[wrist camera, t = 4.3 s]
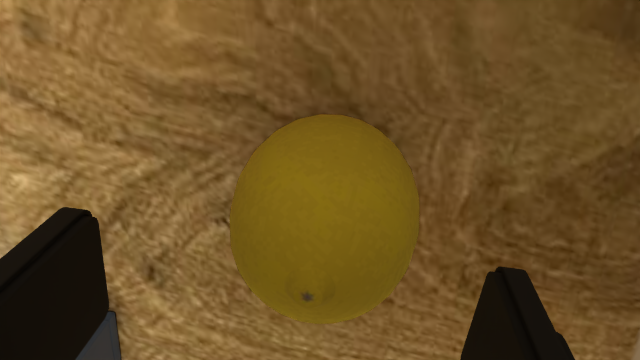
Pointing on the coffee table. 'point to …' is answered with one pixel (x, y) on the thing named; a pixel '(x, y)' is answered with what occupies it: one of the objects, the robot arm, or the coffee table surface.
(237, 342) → the coffee table surface
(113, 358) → the blue bin
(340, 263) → the lemon
